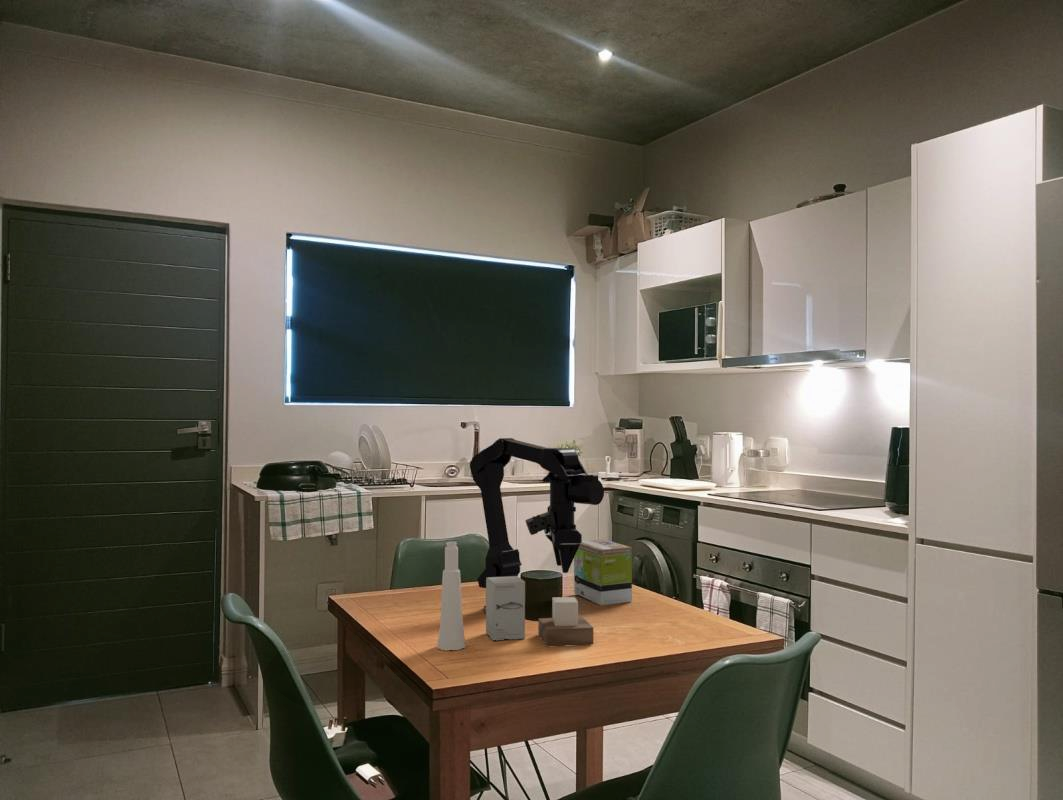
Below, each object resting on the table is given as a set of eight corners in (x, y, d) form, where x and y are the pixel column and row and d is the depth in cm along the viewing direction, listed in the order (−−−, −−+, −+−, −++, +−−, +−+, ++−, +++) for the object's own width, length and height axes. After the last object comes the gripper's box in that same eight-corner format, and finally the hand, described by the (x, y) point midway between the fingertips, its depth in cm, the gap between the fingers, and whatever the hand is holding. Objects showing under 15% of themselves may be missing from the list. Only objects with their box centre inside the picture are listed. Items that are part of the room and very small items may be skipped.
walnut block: (538, 636, 182) (538, 618, 183) (582, 634, 184) (582, 616, 184) (547, 648, 173) (547, 629, 173) (593, 646, 174) (593, 627, 175)
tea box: (572, 594, 224) (572, 540, 225) (604, 591, 228) (604, 538, 229) (600, 606, 211) (599, 548, 211) (633, 602, 215) (633, 545, 215)
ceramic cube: (552, 620, 181) (552, 597, 181) (574, 619, 181) (574, 597, 181) (554, 625, 176) (555, 602, 176) (578, 625, 176) (578, 602, 177)
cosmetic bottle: (471, 647, 172) (471, 542, 173) (448, 653, 168) (448, 545, 169) (453, 641, 177) (454, 539, 177) (431, 647, 172) (431, 542, 173)
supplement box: (492, 641, 177) (492, 583, 177) (485, 633, 184) (485, 576, 184) (525, 639, 179) (525, 581, 179) (517, 631, 186) (517, 575, 186)
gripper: (523, 498, 200) (523, 562, 200) (532, 506, 181) (532, 577, 181) (568, 498, 201) (568, 561, 201) (582, 506, 183) (582, 576, 182)
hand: (562, 569), depth 191 cm, fingers open, 9 cm apart
